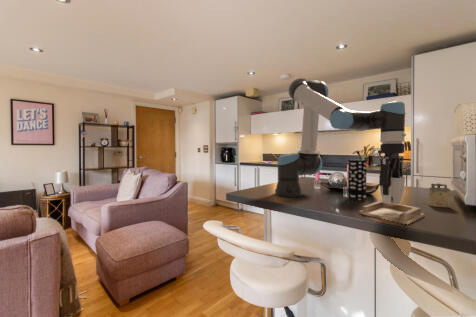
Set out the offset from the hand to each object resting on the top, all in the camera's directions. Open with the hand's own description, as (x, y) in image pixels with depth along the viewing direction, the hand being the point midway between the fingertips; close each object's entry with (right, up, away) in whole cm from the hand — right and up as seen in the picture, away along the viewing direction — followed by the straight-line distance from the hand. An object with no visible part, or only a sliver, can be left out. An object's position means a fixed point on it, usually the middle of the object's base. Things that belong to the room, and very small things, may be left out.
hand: (391, 201), depth 83 cm
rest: (0, -5, 0) cm, 5 cm away
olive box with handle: (+29, -5, +11) cm, 31 cm away
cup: (0, 0, 0) cm, 0 cm away
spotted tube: (+2, -4, +28) cm, 28 cm away
